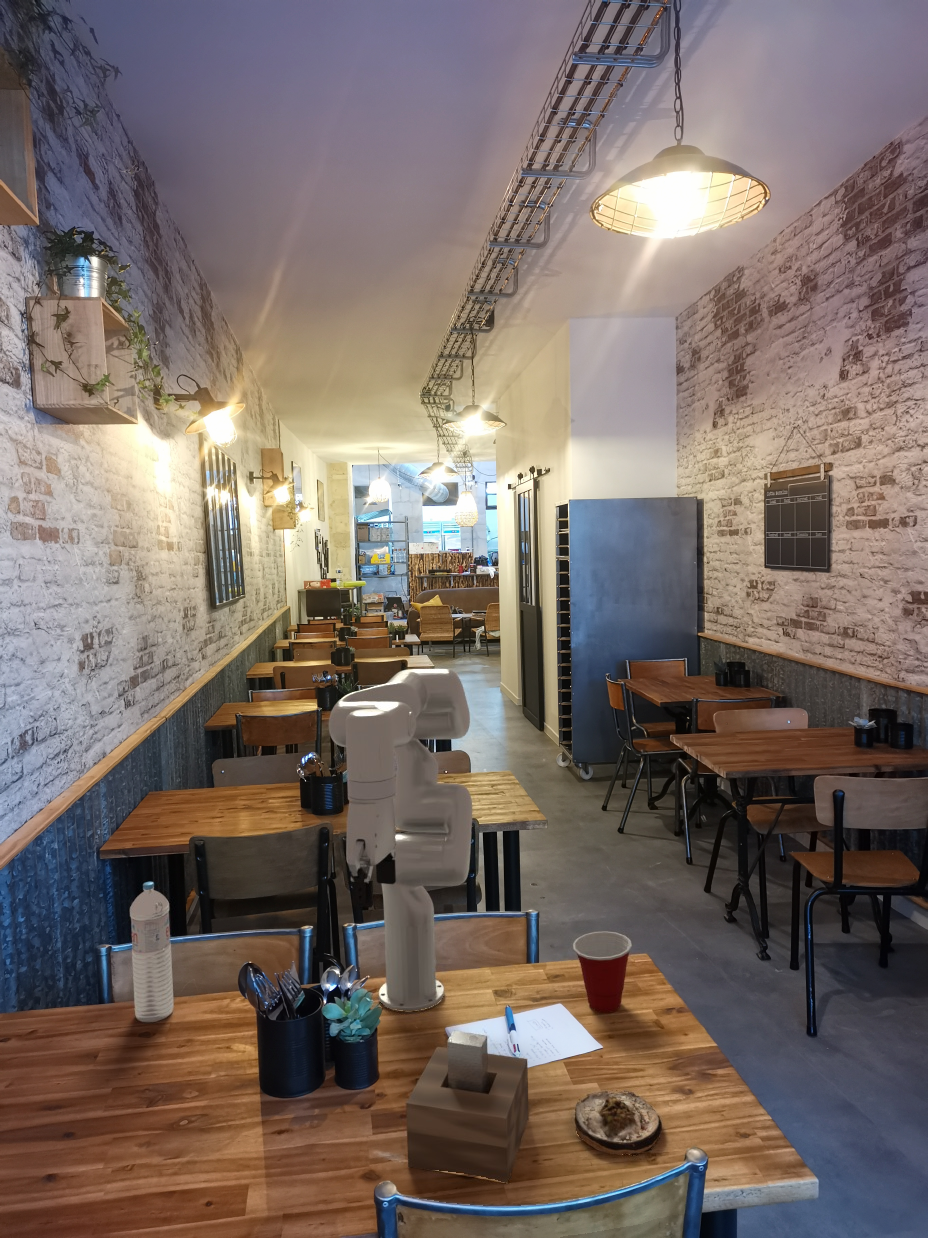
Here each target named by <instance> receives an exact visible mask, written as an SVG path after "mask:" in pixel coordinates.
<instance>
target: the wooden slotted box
mask: <svg viewBox="0 0 928 1238" xmlns="http://www.w3.org/2000/svg"><path fill="white" fill-rule="evenodd" d="M528 1065H529V1064H528V1058H522V1057H517V1056H509V1055H500V1054H495V1053H488V1086H489V1094H484V1093H477V1092H471V1091H464V1090H457V1089H450V1088H448V1054H447V1047H442V1046H437V1047H436V1048H435V1050H434V1051H433V1054H432V1055H431V1058H430V1059H429V1060H428V1063H427V1064H426V1067H425V1068H424V1070H423V1072H422V1073H421V1075H420V1077H419V1079H418V1081H417V1082H416V1084H415V1086H414V1088H413V1089H412V1092H410V1095H409V1097H408V1099H407V1101H406V1102H405V1112H406V1115H405V1116H406V1143H407V1144H406V1147H407V1167H410V1168H414V1169H415V1168H416V1169H420V1170H427V1171H431V1170H439V1171H448V1172H456V1173H464V1174H468V1175H476V1176H481V1177H486V1178H488V1179H495V1180H498V1181H501V1182H505V1183H506V1182H508V1180H509V1181H510V1179H509V1177H510V1178H511V1175H512V1172H513V1169H512V1168H514V1165H515V1163H516V1160H517V1157H518V1152H519V1150H520V1146H521V1143H522V1140H523V1138H524V1135H525V1131H526V1127H527V1125H528V1123H529V1122H528V1121H529V1119H530V1118H529V1117H530V1115H529V1111H530V1110H529V1109H530V1108H529V1106H530V1105H529V1076H528V1075H529V1072H528V1069H529V1067H528ZM514 1162H515V1163H514ZM511 1171H512V1172H511ZM510 1174H511V1175H510ZM508 1183H509V1182H508Z"/></svg>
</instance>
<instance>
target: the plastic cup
mask: <svg viewBox="0 0 928 1238" xmlns="http://www.w3.org/2000/svg"><path fill="white" fill-rule="evenodd" d="M572 945H573V946H572V947H573V951H574V952H575V953H576V955H577V959H578V961H579V964H580V968H581V972H582V978H583V979H582V980H583V984H584V988H585V990H586V997H587V1002H588V1005H589V1007H590V1008H591V1009H592V1010H593V1011H595V1012H599V1013H603V1014H604V1013H614V1012H616V1011H618V1010H619V1009H620V1007H621V1004H622V999H623V998H622V997H623V991H624V987H625V986H624V985H625V980H626V972H627V965H628V961H629V955H630V950H631V949H632V941H631V939H630V938H629V937H627V936H626V935H624V934H621V933H619V932H614V931H613V932H612V931H592V932H589V933H585V934H583V935H581V936H580V937H577V938H576V939H575V940H574V942H573V944H572Z"/></svg>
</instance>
